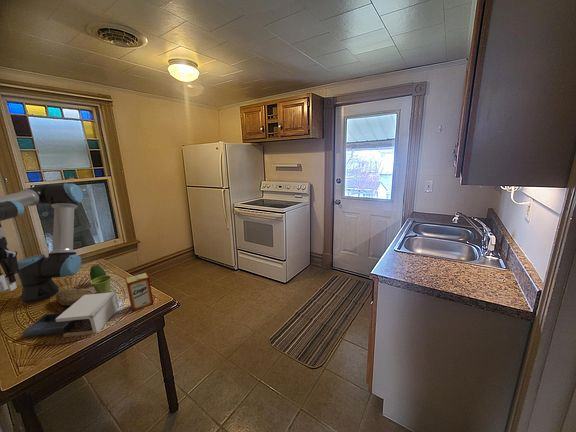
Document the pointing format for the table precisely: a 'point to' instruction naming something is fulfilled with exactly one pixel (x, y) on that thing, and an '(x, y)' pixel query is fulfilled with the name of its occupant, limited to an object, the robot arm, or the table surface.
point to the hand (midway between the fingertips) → (8, 289)
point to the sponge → (70, 296)
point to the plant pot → (102, 284)
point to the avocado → (96, 272)
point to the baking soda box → (139, 291)
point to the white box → (91, 311)
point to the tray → (48, 326)
